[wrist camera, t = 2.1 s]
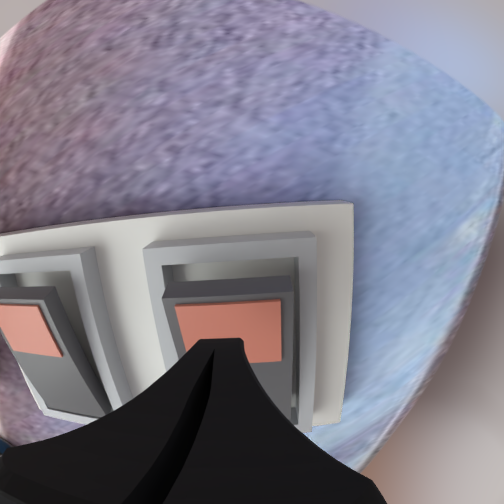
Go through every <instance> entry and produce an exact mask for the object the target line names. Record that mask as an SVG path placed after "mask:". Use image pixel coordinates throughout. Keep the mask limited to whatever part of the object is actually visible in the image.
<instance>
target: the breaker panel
mask: <svg viewBox="0 0 504 504" xmlns="http://www.w3.org/2000/svg"><path fill="white" fill-rule="evenodd" d="M353 258H354V211H353V203H350V202H347V201H344V200H328V201H305V202H286V203H268V204H252V205H238V206H225V207H212V208H200V209H188V210H178V211H167V212H157V213H147V214H138V215H129V216H120V217H112V218H103V219H95V220H88V221H80V222H73V223H65V224H58V225H51V226H44V227H38V228H31V229H25V230H19V231H13V232H7V233H1V234H0V287H31V286H55V287H56V289H57V292H58V295H59V297H60V300H61V302H62V304H63V307H64V309H65V312H66V314H67V316H68V319H69V321H70V323H71V325H72V328H73V330H74V332H75V334H76V336H77V338H78V340H79V342H80V345H81V347H82V349H83V351H84V353H85V355H86V357H87V359H88V360H89V362H90V364H91V366H92V368H93V370H94V372H95V374H96V376H97V377H98V379H99V381H100V383H101V384H102V386H103V388H104V390H105V391H106V393H107V395H108V398H109V401H110V403H111V405H112V409H111V411H110V413H111V412H112V411H114V410H116V409H118V408H119V407H121V406H122V405H124V404H126V403H127V402H129V401H130V400H132V399H133V398H135V397H136V396H137V395H139V394H140V393H142V392H143V391H144V390H146V389H147V388H148V387H149V386H150V385H152V384H153V383H154V382H155V381H156V380H157V379H159V378H160V377H161V376H162V375H163V374H165V373H166V372H167V371H168V370H169V369H170V368H171V367H172V366H173V365H174V364H175V363H176V362H177V361H178V360H179V359H178V355H177V352H176V349H175V345H174V342H173V338H172V335H171V332H170V328H169V324H168V321H167V317H166V314H165V310H164V306H163V302H162V296H163V294H164V291H165V289H166V286H167V284H168V282H182V281H201V280H219V279H237V278H253V277H268V276H283V275H290V278H291V282H292V287H293V291H294V306H293V364H292V395H291V419H290V422H291V423H292V424H293V425H294V426H295V427H296V428H297V429H298V430H299V431H301V432H302V433H306V432H312V426H319V425H326V424H333V423H340V419H341V412H342V405H343V397H344V389H345V381H346V372H347V362H348V351H349V340H350V326H351V311H352V291H353ZM18 364H19V363H18ZM19 367H20V369H21V371H22V374H23V376H24V378H25V380H26V382H27V385H28V387H29V389H30V391H31V393H32V395H33V397H34V399H35V401H36V403H37V405H38V407H39V409H40V410H42V412H43V414H44V415H46V416H50V417H54V418H58V419H62V420H67V421H71V422H76V423H81V424H86V425H87V424H89V423H91V422H93V421H95V420H97V419H99V418H101V417H96V416H90V415H84V414H79V413H74V412H69V411H64V410H59V409H55V408H50V407H48V406H47V404H46V403H45V402H44V400H43V399H42V397H41V396H40V395H39V393H38V392H37V390H36V389H35V388H34V386H33V385H32V383H31V382H30V380H29V379H28V377H27V376H26V374H25V373H24V371H23V370H22V368H21V366H20V365H19Z"/></svg>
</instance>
